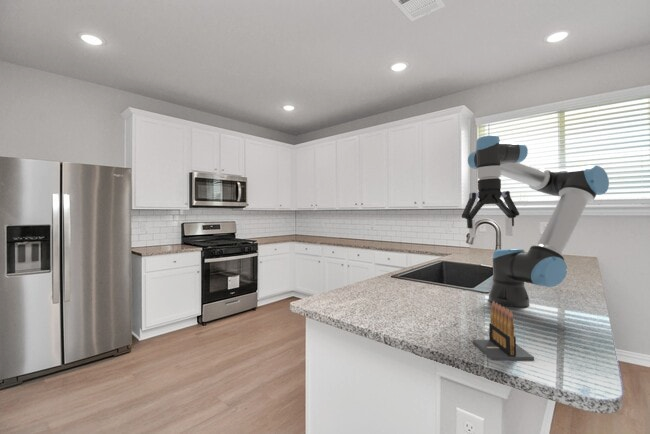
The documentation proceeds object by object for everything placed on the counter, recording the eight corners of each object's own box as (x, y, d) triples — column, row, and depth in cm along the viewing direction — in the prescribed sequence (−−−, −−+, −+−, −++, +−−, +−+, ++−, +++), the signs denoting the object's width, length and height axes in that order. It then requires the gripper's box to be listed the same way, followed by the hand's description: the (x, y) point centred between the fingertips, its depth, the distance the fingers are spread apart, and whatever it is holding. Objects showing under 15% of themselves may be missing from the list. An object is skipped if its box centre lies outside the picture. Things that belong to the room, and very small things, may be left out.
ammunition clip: (488, 339, 92) (488, 299, 92) (495, 339, 92) (495, 299, 91) (509, 356, 81) (509, 311, 81) (516, 356, 81) (516, 311, 81)
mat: (510, 342, 92) (510, 339, 92) (534, 360, 81) (534, 356, 81) (473, 342, 92) (473, 339, 92) (491, 359, 81) (491, 356, 81)
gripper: (515, 178, 116) (517, 233, 117) (450, 181, 116) (452, 237, 116) (529, 176, 109) (531, 235, 109) (460, 179, 108) (462, 238, 109)
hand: (490, 236), depth 113 cm, fingers open, 13 cm apart
